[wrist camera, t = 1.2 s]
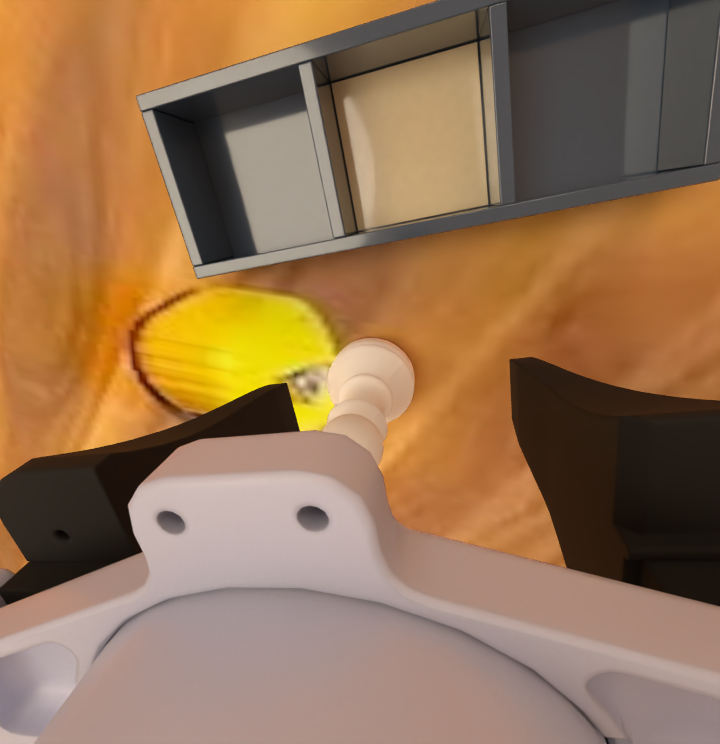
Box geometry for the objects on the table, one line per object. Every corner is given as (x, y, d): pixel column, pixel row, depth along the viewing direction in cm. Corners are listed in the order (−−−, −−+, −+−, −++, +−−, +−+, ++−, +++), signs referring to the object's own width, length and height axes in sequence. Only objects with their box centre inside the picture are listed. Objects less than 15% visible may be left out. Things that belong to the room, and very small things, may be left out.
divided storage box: (665, 184, 18) (720, 179, 15) (231, 268, 23) (196, 279, 19) (682, -34, 15) (755, -102, 12) (184, 113, 20) (134, 95, 17)
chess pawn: (368, 426, 25) (340, 533, 17) (316, 369, 24) (258, 453, 16) (432, 383, 23) (434, 479, 15) (377, 319, 22) (348, 385, 14)
